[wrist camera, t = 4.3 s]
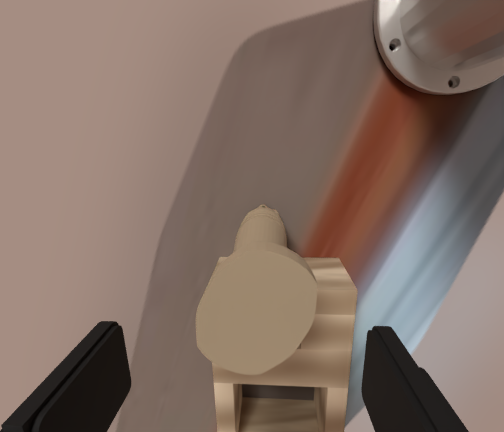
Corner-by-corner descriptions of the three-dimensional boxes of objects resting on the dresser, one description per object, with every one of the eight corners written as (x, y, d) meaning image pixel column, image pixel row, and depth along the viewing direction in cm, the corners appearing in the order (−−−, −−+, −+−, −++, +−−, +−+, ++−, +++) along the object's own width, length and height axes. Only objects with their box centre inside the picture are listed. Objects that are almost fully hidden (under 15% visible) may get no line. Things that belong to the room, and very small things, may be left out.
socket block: (220, 257, 27) (206, 287, 22) (338, 258, 27) (357, 290, 21) (228, 406, 33) (220, 462, 27) (327, 410, 32) (340, 470, 26)
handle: (300, 201, 25) (340, 282, 11) (270, 257, 27) (270, 388, 13) (255, 179, 25) (234, 231, 11) (227, 236, 27) (177, 348, 12)
